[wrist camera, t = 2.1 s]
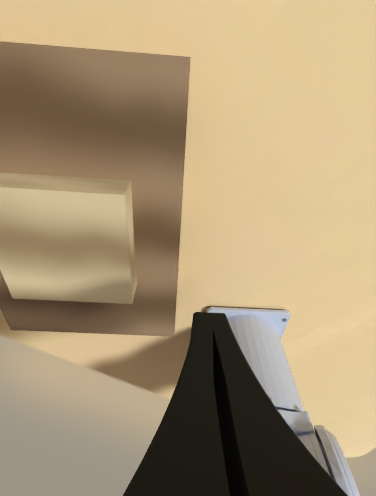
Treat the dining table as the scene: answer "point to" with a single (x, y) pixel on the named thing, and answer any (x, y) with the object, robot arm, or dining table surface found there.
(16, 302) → the walnut board
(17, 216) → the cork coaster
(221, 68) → the dining table surface
